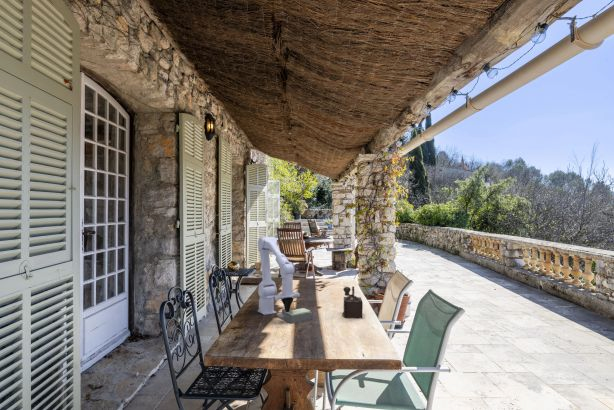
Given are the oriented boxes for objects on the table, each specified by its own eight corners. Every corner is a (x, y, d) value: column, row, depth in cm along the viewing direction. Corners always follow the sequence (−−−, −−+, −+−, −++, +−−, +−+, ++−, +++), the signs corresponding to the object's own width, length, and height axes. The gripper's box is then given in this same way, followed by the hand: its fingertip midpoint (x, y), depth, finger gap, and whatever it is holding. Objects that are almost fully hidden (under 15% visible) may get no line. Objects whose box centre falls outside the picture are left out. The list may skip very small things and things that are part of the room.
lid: (285, 312, 192) (285, 308, 192) (303, 309, 199) (303, 304, 199) (291, 315, 187) (291, 310, 187) (310, 312, 193) (310, 307, 193)
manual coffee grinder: (342, 312, 207) (342, 281, 207) (361, 313, 206) (361, 282, 206) (343, 320, 191) (343, 287, 191) (363, 321, 190) (363, 288, 191)
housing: (276, 316, 199) (276, 309, 199) (297, 312, 207) (297, 306, 207) (291, 323, 186) (291, 317, 186) (312, 319, 193) (312, 312, 193)
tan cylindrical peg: (285, 313, 200) (285, 301, 200) (291, 312, 202) (292, 300, 202) (289, 315, 197) (289, 302, 197) (295, 314, 199) (295, 302, 199)
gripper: (279, 289, 182) (278, 315, 182) (302, 286, 190) (302, 311, 190) (272, 286, 188) (272, 312, 188) (295, 283, 196) (295, 308, 196)
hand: (287, 311), depth 189 cm, fingers closed
